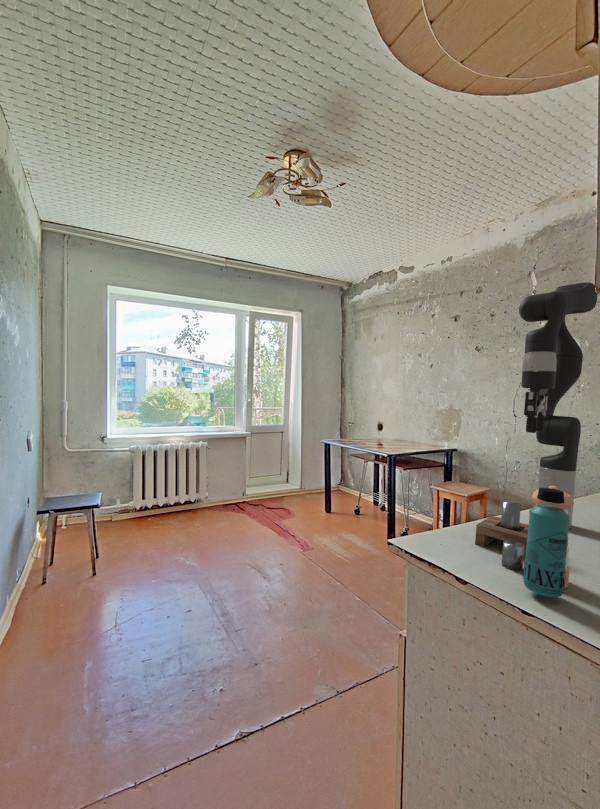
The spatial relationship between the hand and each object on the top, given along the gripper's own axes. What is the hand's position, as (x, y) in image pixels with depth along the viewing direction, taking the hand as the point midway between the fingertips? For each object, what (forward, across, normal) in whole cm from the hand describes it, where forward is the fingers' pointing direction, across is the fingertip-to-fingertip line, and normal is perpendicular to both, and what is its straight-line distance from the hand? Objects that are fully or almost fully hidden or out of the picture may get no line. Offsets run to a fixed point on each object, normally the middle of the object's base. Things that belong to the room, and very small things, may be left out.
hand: (534, 431), depth 99 cm
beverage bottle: (+28, +34, +10) cm, 45 cm away
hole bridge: (+28, +11, -2) cm, 30 cm away
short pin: (+28, +24, +2) cm, 37 cm away
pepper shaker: (+28, +25, +9) cm, 39 cm away
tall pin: (+28, +11, -2) cm, 30 cm away
